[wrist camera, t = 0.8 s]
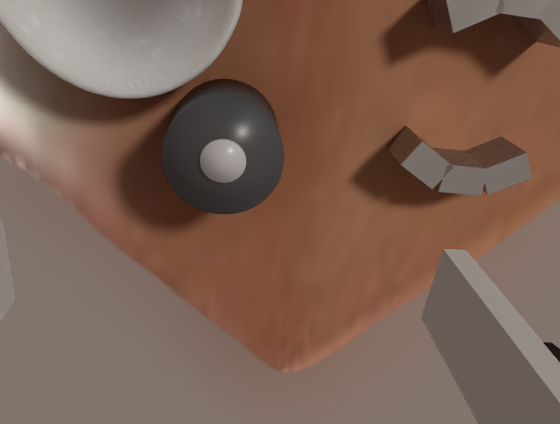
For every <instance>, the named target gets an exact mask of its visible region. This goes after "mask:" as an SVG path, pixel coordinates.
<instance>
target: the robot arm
mask: <svg viewBox="0 0 560 424" xmlns="http://www.w3.org/2000/svg"><path fill="white" fill-rule="evenodd" d="M14 300H15V295H14V289H13V283H12V277H11V270H10V264H9V258H8V252H7V245H6V240H5V233H4V228H3V221H2V220H0V321H1V319H2V318H3V316H4V315H5V313H6V312H7V311H8V309H9V308H10V306H11V305H12V303H13V302H14ZM421 318H422V320H423V322H424V324H425V325H426V327H427V329H428V331H429V333H430V335H431V337H432V338H433V340H434V342H435V344H436V346H437V348H438V350H439V352H440V353H441V355H442V357H443V359H444V361H445V363H446V364H447V366H448V368H449V370H450V372H451V373H452V376H453V377H454V379H455V381H456V383H457V385H458V387H459V389H460V391H461V392H462V394H463V396H464V398H465V400H466V402H467V404H468V405H469V407H470V409H471V411H472V413H473V415H474V417H475V418H476V420H477V422H478V424H560V349H559V348H558V347H557V346H555V345H554V344H553V343H547V342H542V341H541V340H540V338H539V337H538V336H537V335H536V334H535V333H534V331H533V330H532V329H531V328H530V326H529V325H528V324H527V323H526V322H525V320H524V319H523V318H522V317H521V316H520V314H519V313H518V312H517V311H516V310H515V309H514V307H513V306H512V305H511V304H510V302H509V301H508V300H507V299H506V298H505V296H504V295H503V294H502V293H501V292H500V291H499V289H498V288H497V287H496V286H495V284H494V283H493V282H492V281H491V280H490V279H489V277H488V276H487V275H486V274H485V273H484V271H483V270H482V269H481V268H480V267H479V265H478V264H477V263H476V262H475V260H474V259H473V258H472V257H471V256H470V254H469V253H468V252H467V251H466V250H452V249H443V252H442V255H441V258H440V261H439V264H438V267H437V270H436V273H435V277H434V280H433V283H432V286H431V289H430V292H429V295H428V298H427V301H426V305H425V308H424V311H423V314H422V317H421Z"/></svg>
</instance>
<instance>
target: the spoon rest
mask: <svg viewBox="0 0 560 424" xmlns="http://www.w3.org/2000/svg"><path fill="white" fill-rule="evenodd" d="M242 3H243V0H0V23H1V24H2V26H3V27H4V28H5V29H6V30H7V32H8V33H9V34H10V35H11V36H12V38H13V39H14V40H15V41H16V42H17V43H18V44H19V45H20V46H21V47H22V48H23V49H24V50H25V51H26V52H27V53H28V54H29V55H30V56H31V57H32V58H33V59H34V60H35V61H37V62H38V63H39V64H40V65H41V66H43V67H44V68H46V69H47V70H49V71H50V72H51V73H53V74H55V75H56V76H57V77H59V78H61V79H62V80H64V81H66V82H68V83H70V84H72V85H74V86H76V87H78V88H81V89H83V90H85V91H88V92H91V93H94V94H98V95H103V96H107V97H112V98H123V99H140V98H148V97H153V96H157V95H161V94H164V93H167V92H170V91H172V90H174V89H176V88H178V87H180V86H182V85H184V84H186V83H187V82H189V81H191V80H192V79H194V78H195V77H197V76H198V75H199V74H201V73H202V72H203V71H204V70H205V69H207V68H208V67H209V66H210V65H211V64H212V63H213V62H214V61H215V60H216V58H217V57H218V56H219V55H220V53H221V52H222V50H223V49H224V47H225V46H226V44H227V42H228V41H229V39H230V37H231V35H232V34H233V32H234V29H235V27H236V25H237V22H238V19H239V16H240V12H241V8H242Z"/></svg>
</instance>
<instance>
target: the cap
mask: <svg viewBox="0 0 560 424" xmlns="http://www.w3.org/2000/svg"><path fill="white" fill-rule="evenodd" d="M161 162H162V167H163V171H164V174H165V177H166V179H167V181H168V183H169V184H170V186H171V187H172V189H173V190H174V191H175V192H176V194H177V195H178V196H179V197H181V198H182V199H183V200H184V201H185V202H187V203H188V204H190V205H192V206H193V207H195V208H197V209H200V210H202V211H206V212H209V213H215V214H234V213H239V212H243V211H246V210H248V209H251V208H253V207H255V206H256V205H258V204H260V203H261V202H262V201H263V200H265V199H266V198H267V197H268V196H269V195H270V194H271V193H272V191H273V190H274V189H275V187H276V185H277V184H278V182H279V179H280V177H281V174H282V170H283V163H284V153H283V147H282V142H281V138H280V134H279V130H278V125H277V121H276V117H275V114H274V111H273V109H272V107H271V105H270V104H269V102H268V101H267V99H266V98H265V97H264V96H263V95H262V94H261V93H260V92H259V91H257V90H256V89H255V88H253V87H252V86H250V85H248V84H246V83H243V82H240V81H237V80H232V79H215V80H211V81H207V82H205V83H202V84H200V85H198V86H196V87H195V88H194V89H192V90H191V91H190V92H189V93H188V94H187V95H186V96H185V97H184V98H183V99H182V101H181V102H180V104H179V106H178V108H177V110H176V112H175V115H174V117H173V119H172V121H171V123H170V126H169V128H168V130H167V132H166V135H165V137H164V140H163V144H162V151H161Z"/></svg>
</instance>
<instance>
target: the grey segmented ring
mask: <svg viewBox="0 0 560 424" xmlns="http://www.w3.org/2000/svg"><path fill="white" fill-rule="evenodd" d="M426 2H427V6H428V10H429V15H430V19H431V23H432V27H435V28H438V29H441V30H444V31H448V32H451V33H455V32H457V31H460V30H462V29H464V28H467V27H469V26H471V25H474V24H476V23H479V22H481V21H483V20H486V19H488V18H490V17H493V16H495V15H497V14H500V13H502V14H508V15H512V16H513V17H514V18H515V19H516V20H517V21H518V22H519V23H520V25H521V26H522V27H523V28H524V29H525V30H526V31H527V32H528V33H529V34H530V35H531V36H532V37H533V38H534V39H535V40H536V41H537V42H540V43H544V44H548V45H552V46H556V47H560V0H426ZM387 149H388V150H389V151H390V152H391V154H392V155H393V156H394V157H395V158H396V160H397V161H398V162H399V163H400V165H402V166H403V167H404V168H405V169H407V170H408V171H409V172H411V173H412V174H413V175H414V176H416V177H417V178H418V179H420V180H421V181H422V182H423V183H425V184H426V185H427V186H428V187H430V188H431V189H433V188H434V187H435V188H436V189H437V191H438V192H446V193H457V194H467V195H478V196H480V195H481V192H482V190H483V191H484V192H485V193H486V194H487V195H488V194H491V193H493V192H496V191H499V190H501V189H504V188H506V187H509V186H512V185H514V184H517V183H519V182H522V181H525V180H527V179H530V178H531V175H530V168H529V162H528V156H527V152H525V151H524V150H522V149H520V148H519V147H517V146H516V145H514V144H513V143H511V142H510V141H508V140H507V139H505V138H503V137H500V138H497V139H495V140H492V141H490V142H487V143H485V144H482V145H479V146H477V147H474V148H472V149H469V150H467V151H459V150H449V149H440V148H432V147H431V146H430V145H429V144H428V143H426V142H425V141H424V140H423V139H421V138H420V137H419V136H418V135H417V134H415V133H414V132H413V131H412V130H411V129H409V128H408V127H407V126H405V127H404V129H403V130H402V131H401V132H400V133H399V134H398V135H397V136H396V138H395V139H394V140H393V141H392V142H391V143H390V144H389V145H388V146H387Z"/></svg>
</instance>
